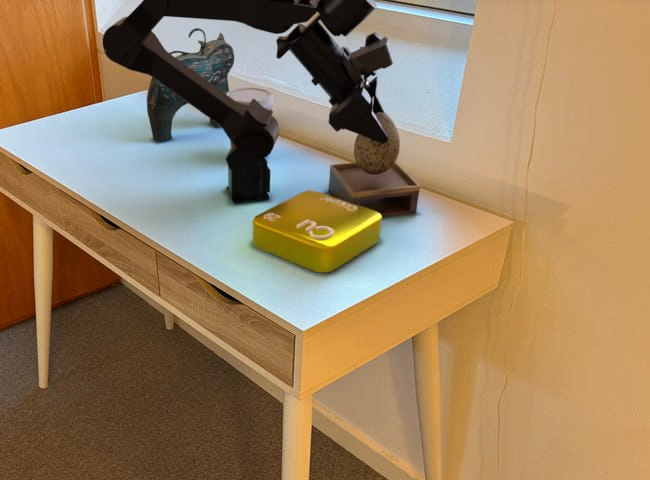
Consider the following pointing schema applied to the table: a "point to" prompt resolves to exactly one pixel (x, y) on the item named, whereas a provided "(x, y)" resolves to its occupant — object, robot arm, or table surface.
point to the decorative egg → (378, 148)
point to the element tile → (316, 230)
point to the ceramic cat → (207, 63)
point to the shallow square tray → (375, 189)
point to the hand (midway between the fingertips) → (387, 134)
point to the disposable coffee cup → (252, 97)
